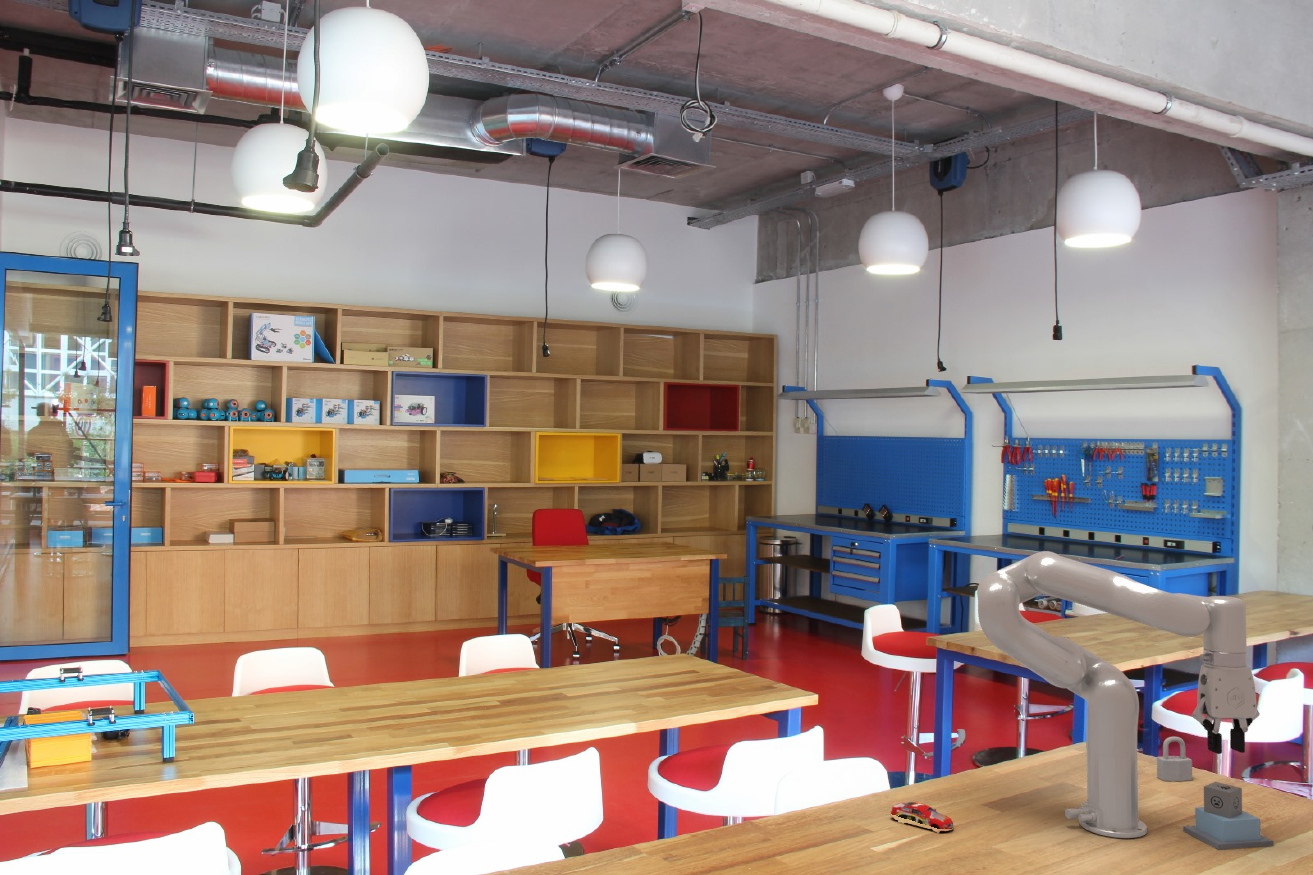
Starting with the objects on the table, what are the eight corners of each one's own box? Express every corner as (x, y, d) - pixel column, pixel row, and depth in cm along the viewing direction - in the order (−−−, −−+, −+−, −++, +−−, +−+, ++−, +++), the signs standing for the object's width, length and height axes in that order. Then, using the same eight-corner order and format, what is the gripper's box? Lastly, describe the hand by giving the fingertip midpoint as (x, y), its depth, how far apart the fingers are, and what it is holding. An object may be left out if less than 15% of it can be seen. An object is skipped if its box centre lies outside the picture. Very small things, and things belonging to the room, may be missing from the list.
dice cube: (1230, 818, 197) (1230, 793, 198) (1204, 811, 201) (1203, 786, 202) (1242, 813, 200) (1241, 788, 201) (1215, 806, 204) (1215, 781, 205)
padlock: (1165, 782, 236) (1164, 739, 236) (1155, 777, 240) (1154, 734, 240) (1194, 781, 237) (1193, 738, 237) (1183, 776, 241) (1183, 734, 241)
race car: (958, 830, 206) (958, 810, 206) (945, 837, 202) (945, 817, 202) (901, 814, 215) (901, 795, 215) (887, 820, 211) (887, 801, 211)
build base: (1218, 849, 195) (1218, 823, 195) (1183, 831, 204) (1182, 806, 205) (1273, 846, 197) (1273, 820, 197) (1236, 827, 206) (1235, 803, 207)
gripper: (1200, 664, 196) (1201, 759, 196) (1276, 661, 199) (1278, 755, 199) (1174, 657, 204) (1175, 748, 203) (1248, 654, 207) (1250, 744, 206)
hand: (1226, 750), depth 201 cm, fingers open, 4 cm apart
